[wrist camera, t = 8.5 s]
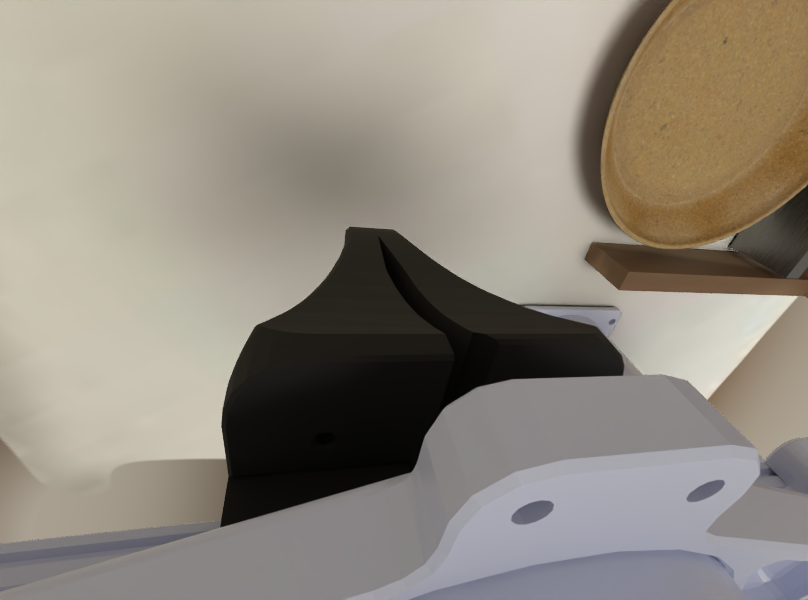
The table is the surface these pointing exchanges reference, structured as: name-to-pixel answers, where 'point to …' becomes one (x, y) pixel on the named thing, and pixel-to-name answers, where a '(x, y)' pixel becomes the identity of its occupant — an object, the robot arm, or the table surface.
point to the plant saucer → (709, 122)
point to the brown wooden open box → (689, 271)
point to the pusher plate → (779, 238)
